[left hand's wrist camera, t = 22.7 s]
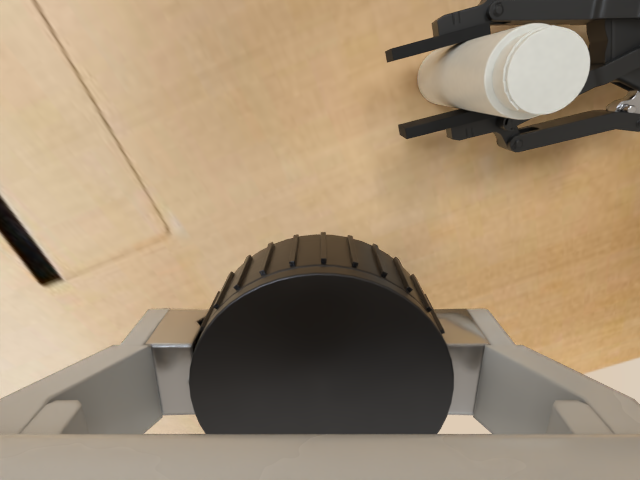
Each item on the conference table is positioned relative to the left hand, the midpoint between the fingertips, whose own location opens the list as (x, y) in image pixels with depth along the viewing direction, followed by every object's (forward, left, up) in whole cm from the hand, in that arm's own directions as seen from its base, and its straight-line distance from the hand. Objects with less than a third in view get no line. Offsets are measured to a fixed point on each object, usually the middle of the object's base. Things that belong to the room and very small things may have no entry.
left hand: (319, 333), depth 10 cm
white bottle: (-12, +4, -29) cm, 32 cm away
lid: (0, 0, +2) cm, 2 cm away
